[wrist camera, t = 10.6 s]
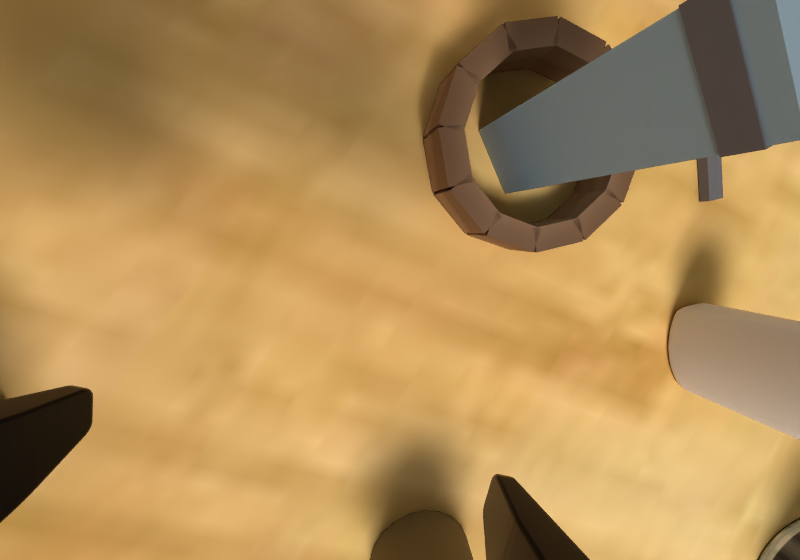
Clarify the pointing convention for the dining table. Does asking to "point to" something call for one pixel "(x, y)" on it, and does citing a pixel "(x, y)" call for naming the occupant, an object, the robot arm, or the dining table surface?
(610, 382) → the dining table surface
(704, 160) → the thin gray square rod
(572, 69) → the bead ring
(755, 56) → the blue-gray square peg
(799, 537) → the coffee can
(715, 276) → the dining table surface
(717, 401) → the eye dropper bottle
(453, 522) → the cork
